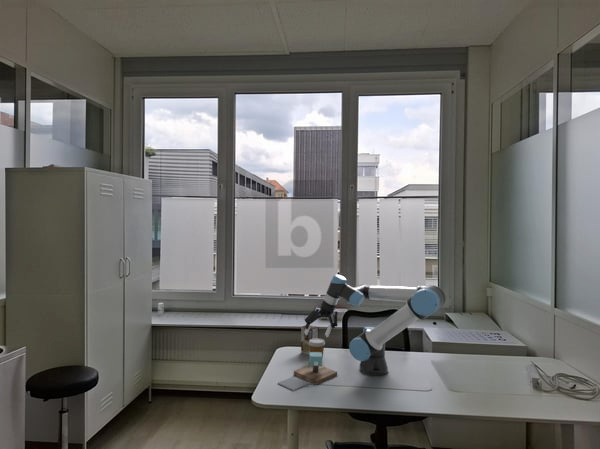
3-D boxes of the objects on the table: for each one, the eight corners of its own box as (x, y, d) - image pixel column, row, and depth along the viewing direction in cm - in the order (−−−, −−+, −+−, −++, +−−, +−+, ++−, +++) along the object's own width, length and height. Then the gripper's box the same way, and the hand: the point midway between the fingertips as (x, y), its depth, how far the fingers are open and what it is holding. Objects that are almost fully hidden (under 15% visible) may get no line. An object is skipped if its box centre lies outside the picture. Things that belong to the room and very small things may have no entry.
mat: (309, 384, 194) (309, 383, 194) (293, 391, 186) (293, 389, 186) (293, 377, 202) (293, 376, 202) (277, 383, 194) (277, 382, 194)
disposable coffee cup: (325, 358, 229) (325, 338, 229) (324, 364, 220) (324, 343, 220) (308, 358, 230) (309, 337, 230) (307, 364, 221) (307, 342, 221)
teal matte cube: (321, 361, 208) (321, 352, 208) (322, 367, 201) (322, 357, 201) (309, 361, 208) (309, 352, 208) (309, 366, 201) (309, 357, 201)
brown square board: (337, 375, 205) (337, 356, 205) (316, 384, 194) (316, 364, 194) (314, 366, 217) (314, 348, 216) (293, 374, 205) (294, 355, 205)
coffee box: (318, 353, 238) (319, 327, 238) (312, 356, 233) (312, 329, 233) (307, 350, 244) (307, 324, 244) (300, 352, 239) (300, 326, 239)
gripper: (345, 300, 222) (331, 332, 227) (307, 295, 210) (294, 328, 215) (351, 308, 215) (337, 340, 220) (313, 302, 204) (299, 337, 209)
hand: (316, 334), depth 218 cm, fingers open, 13 cm apart
